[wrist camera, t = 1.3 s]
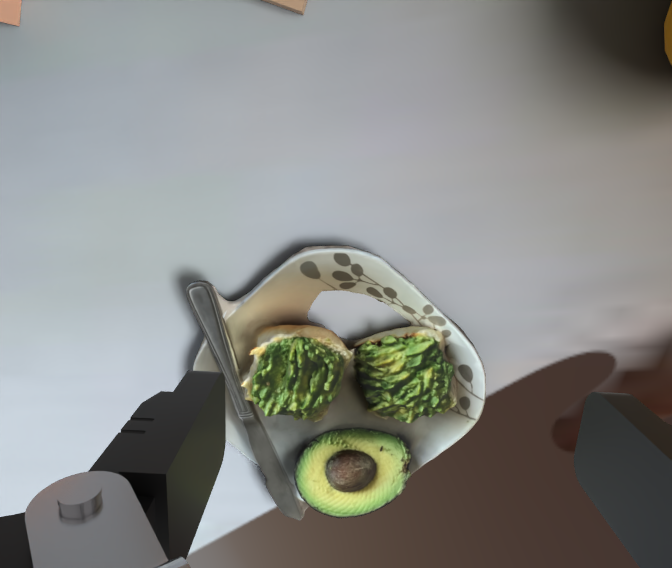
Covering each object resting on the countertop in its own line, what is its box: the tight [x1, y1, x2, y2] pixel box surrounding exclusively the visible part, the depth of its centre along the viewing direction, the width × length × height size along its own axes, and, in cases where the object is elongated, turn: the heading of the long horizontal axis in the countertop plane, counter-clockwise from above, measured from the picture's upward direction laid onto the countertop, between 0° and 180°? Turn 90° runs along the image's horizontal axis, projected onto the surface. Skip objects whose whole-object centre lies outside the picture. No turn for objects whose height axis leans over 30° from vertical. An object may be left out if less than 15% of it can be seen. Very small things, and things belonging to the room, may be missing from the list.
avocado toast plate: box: [186, 246, 486, 520], centre depth 30 cm, size 19×18×5 cm
